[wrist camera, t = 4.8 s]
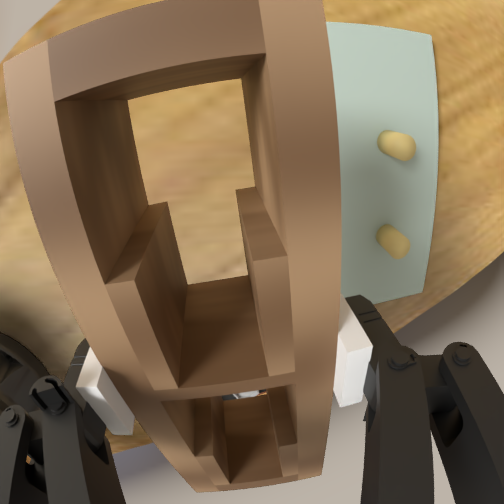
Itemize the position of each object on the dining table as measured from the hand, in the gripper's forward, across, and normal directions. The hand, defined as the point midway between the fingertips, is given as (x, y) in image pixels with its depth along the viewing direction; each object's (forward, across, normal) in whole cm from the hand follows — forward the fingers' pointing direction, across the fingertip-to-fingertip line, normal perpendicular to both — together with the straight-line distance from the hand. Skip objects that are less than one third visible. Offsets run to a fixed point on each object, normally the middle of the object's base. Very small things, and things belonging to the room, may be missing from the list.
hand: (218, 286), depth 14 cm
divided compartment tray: (0, 0, 0) cm, 0 cm away
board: (+14, +16, 0) cm, 21 cm away
